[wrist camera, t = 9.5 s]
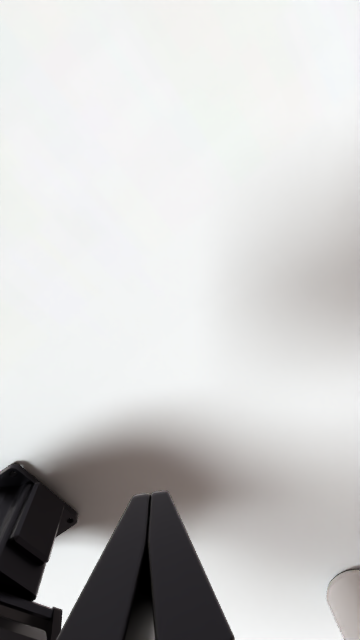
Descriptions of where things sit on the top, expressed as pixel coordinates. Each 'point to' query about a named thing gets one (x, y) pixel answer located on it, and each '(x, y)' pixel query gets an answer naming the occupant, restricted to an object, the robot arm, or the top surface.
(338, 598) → the beverage can
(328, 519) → the top surface
